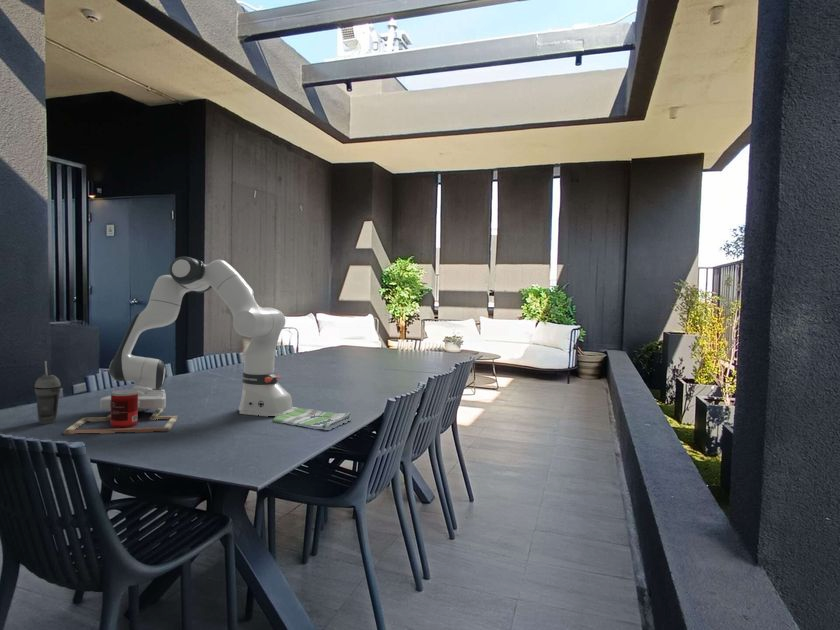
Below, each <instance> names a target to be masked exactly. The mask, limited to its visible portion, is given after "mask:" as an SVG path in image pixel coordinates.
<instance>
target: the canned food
mask: <svg viewBox="0 0 840 630" xmlns="http://www.w3.org/2000/svg"><path fill="white" fill-rule="evenodd" d="M110 395H111V409H110V414H111V421H110V426H111V427H112V428H115V427H117V428H116V429H120V427H127V428H132V427H134V425H135V426H136V425H137V424H138V413H139V411H138V391H137V390H130V389H129V388H128V389H119V390H118V389H117V390H113V391H112V392H111V394H110ZM131 426H132V427H131Z"/></svg>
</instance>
